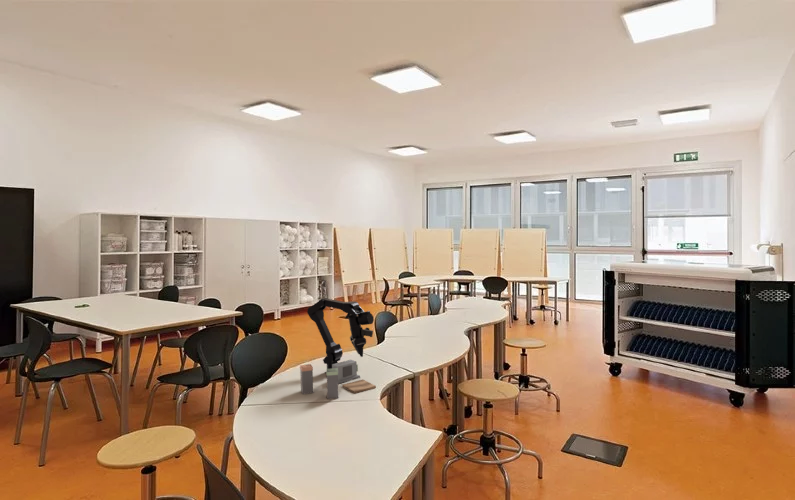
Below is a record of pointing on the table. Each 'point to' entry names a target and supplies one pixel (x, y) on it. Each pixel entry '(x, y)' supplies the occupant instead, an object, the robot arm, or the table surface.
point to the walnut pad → (358, 386)
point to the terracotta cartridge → (306, 378)
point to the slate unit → (346, 370)
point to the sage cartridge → (332, 383)
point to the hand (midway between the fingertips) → (360, 355)
